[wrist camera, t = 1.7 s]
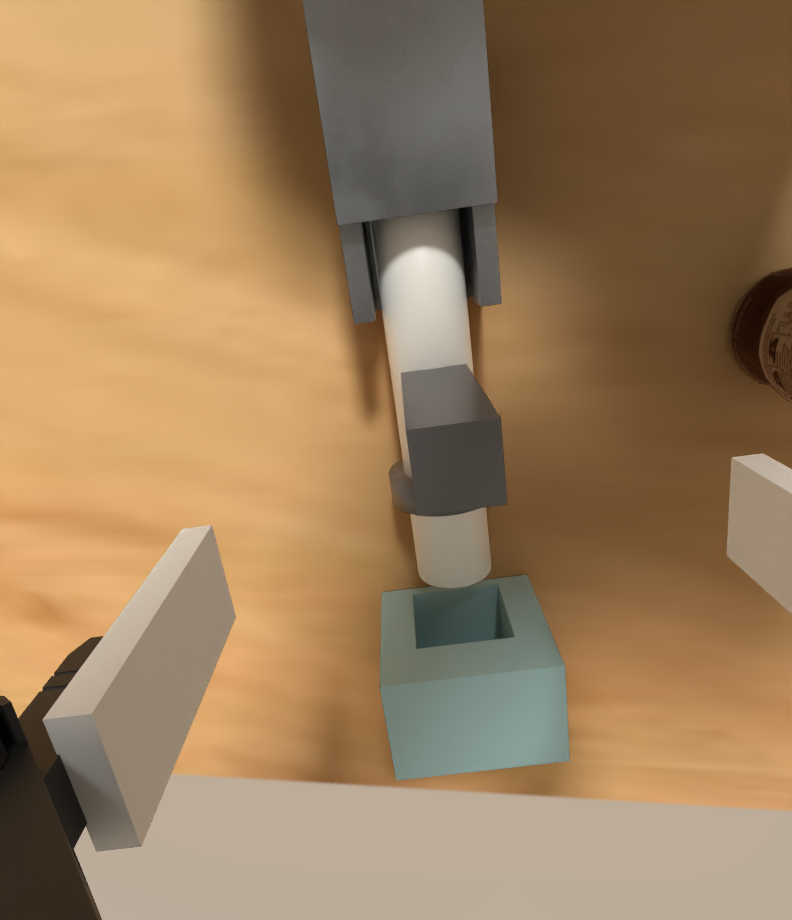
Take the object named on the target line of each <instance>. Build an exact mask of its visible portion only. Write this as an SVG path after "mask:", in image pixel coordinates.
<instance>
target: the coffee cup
mask: <svg viewBox="0 0 792 920" xmlns="http://www.w3.org/2000/svg"><path fill="white" fill-rule="evenodd" d="M730 345H731V349H732V352H733V355H734V358H735V360H736V361H737V363H738V365H739V366H740V368H741V369H742V370H743V371H744V372H745V373H746V374H748V375H749V376H750V377H751V378H752V379H753V380H755V381H756V382H757V383H762V384H768V385H770V386H772V387H773V388H774V389H775V390H776V391H777V392H778V393H779V394H780V395H781V396H782V397H783V398H784V399H786V400H787V401H790V402H792V268H788V269H782V270H779V271H776V272H773V273H770V274H768V275H766V276H764V277H763V278H762V279H761V280H760V281H759V282H758V283H756V284H755V285H754V286H753V287H752V288H751V289H750V291H749V292H748V293H747V294H746V295H745V296H744V297H743V298H742V300H741V301H740V303H739V305H738V307H737V309H736V311H735V314H734V317H733V322H732V327H731V335H730Z"/></svg>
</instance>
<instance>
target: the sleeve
mask: <svg viewBox="0 0 792 920" xmlns="http://www.w3.org/2000/svg"><path fill="white" fill-rule="evenodd" d="M302 2H303V8H304V15H305V21H306V27H307V34H308V40H309V47H310V53H311V59H312V66H313V72H314V79H315V85H316V91H317V98H318V104H319V111H320V117H321V123H322V130H323V136H324V143H325V149H326V155H327V162H328V168H329V174H330V181H331V187H332V194H333V200H334V206H335V213H336V219H337V225H338V226H339V229H340V235H341V242H342V248H343V255H344V261H345V268H346V274H347V280H348V287H349V293H350V300H351V306H352V313H353V319H354V324H359V323H366V322H373V321H375V318H376V312H377V310H379V309H382V308H381V301H380V293H379V286H378V279H377V272H376V265H375V258H374V250H373V243H372V236H371V229H370V221H377V220H384V219H391V218H398V217H405V216H411V215H418V214H425V213H432V212H439V211H446V210H453V209H459V220H460V231H461V242H462V252H463V263H464V274H465V285H466V296H467V297H468V298H469V299H471V300H472V301H473V302H475V303H476V304H478V305H479V306H488V305H496V304H502V301H501V287H500V274H499V260H498V246H497V233H496V219H495V206H494V203H497V202H498V200H497V186H496V172H495V158H494V144H493V131H492V117H491V103H490V89H489V75H488V61H487V47H486V33H485V19H484V5H483V0H302Z"/></svg>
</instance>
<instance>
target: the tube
mask: <svg viewBox="0 0 792 920" xmlns="http://www.w3.org/2000/svg"><path fill="white" fill-rule="evenodd" d="M370 229H371V236H372V243H373V250H374V258H375V265H376V272H377V279H378V286H379V293H380V301H381V308H382V315H383V322H384V329H385V337H386V344H387V351H388V358H389V365H390V372H391V380H392V387H393V394H394V401H395V408H396V415H397V423H398V430H399V437H400V444H401V451H402V458H403V459H402V460H400V461H398V462H397V463H395V464H394V465H393V466H392V467H391V469H390V470H389V477H390V484H391V491H392V497H393V503H394V505H395V506H396V507H397V508H398V509H400V510H402V511H404V512H406V513H409V514H410V516H411V523H412V530H413V537H414V545H415V552H416V559H417V566H418V573H419V576H420V578H421V579H422V580H423V581H424V582H426V583H428V584H430V585H432V586H436V587H441V588H459V587H465V586H469V585H472V584H475V583H477V582H479V581H481V580H482V579H484V578H485V577H486V576H487V575H488V574H489V573H490V571H491V555H490V545H489V534H488V523H487V512H486V507H492V506H500V505H508V504H507V492H506V479H505V467H504V454H503V441H502V429H501V417H500V416H499V414H498V413H497V411H496V410H495V408H494V407H493V405H492V403H491V402H490V400H489V399H488V397H487V396H486V394H485V392H484V391H483V389H482V388H481V386H480V385H479V383H478V382H477V380H476V378H475V377H474V371H473V361H472V350H471V339H470V328H469V317H468V307H467V296H466V285H465V274H464V263H463V252H462V242H461V231H460V220H459V209H453V210H446V211H439V212H432V213H425V214H418V215H411V216H405V217H398V218H391V219H384V220H377V221H370Z"/></svg>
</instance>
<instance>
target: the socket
mask: <svg viewBox="0 0 792 920" xmlns="http://www.w3.org/2000/svg"><path fill="white" fill-rule="evenodd" d="M380 692H381V697H382V703H383V709H384V714H385V720H386V726H387V731H388V737H389V743H390V748H391V754H392V759H393V765H394V771H395V776H396V781H397V780H406V779H414V778H423V777H432V776H441V775H450V774H459V773H468V772H477V771H486V770H495V769H504V768H513V767H522V766H531V765H540V764H548V763H557V762H566V761H570V756H569V736H568V715H567V695H566V674H565V664H564V662H563V659H562V657H561V655H560V652H559V650H558V647H557V645H556V643H555V640H554V638H553V635H552V633H551V631H550V628H549V626H548V623H547V621H546V619H545V616H544V614H543V611H542V609H541V607H540V604H539V602H538V599H537V597H536V595H535V592H534V590H533V587H532V585H531V583H530V580H529V578H528V575H519V576H511V577H502V578H494V579H486V580H481V581H479V582H477V583H475V584H472V585H469V586H465V587H459V588H441V587H436V586H429V587H421V588H413V589H405V590H397V591H389V592H382V603H381V651H380Z"/></svg>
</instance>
